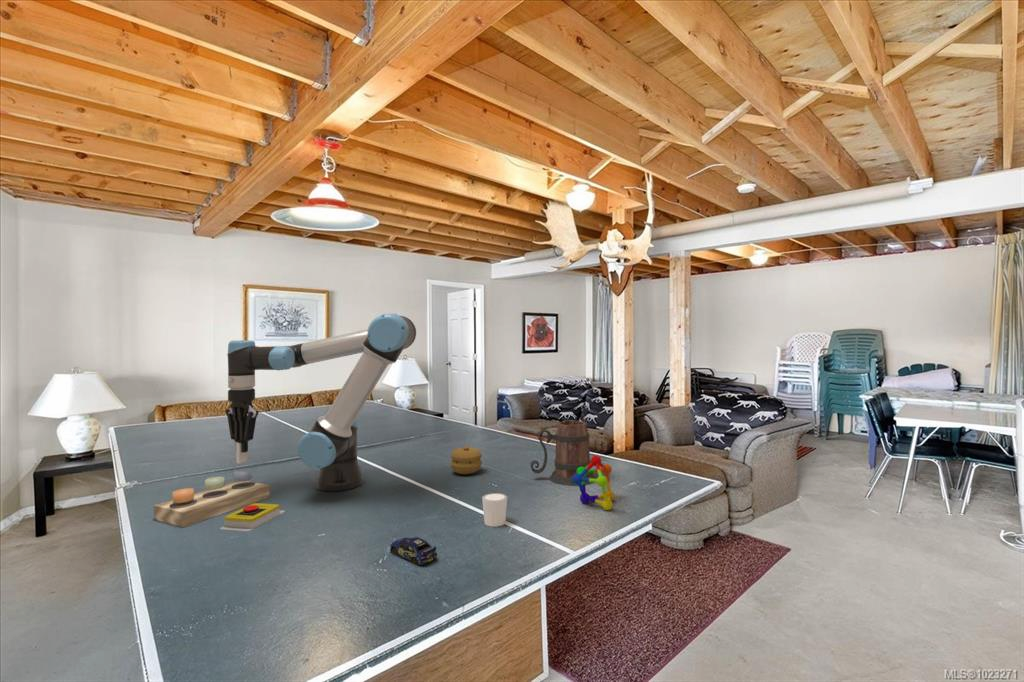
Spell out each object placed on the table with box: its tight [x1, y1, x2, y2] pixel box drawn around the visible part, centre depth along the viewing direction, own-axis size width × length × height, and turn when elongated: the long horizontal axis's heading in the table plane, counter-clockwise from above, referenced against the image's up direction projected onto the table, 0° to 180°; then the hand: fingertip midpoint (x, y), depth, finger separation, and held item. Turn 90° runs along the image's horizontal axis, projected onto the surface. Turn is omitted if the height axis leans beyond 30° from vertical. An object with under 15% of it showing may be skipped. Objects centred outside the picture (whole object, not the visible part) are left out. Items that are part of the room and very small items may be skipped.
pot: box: [450, 445, 483, 475], centre depth 176 cm, size 12×12×10 cm
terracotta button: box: [172, 487, 195, 503], centre depth 133 cm, size 5×5×3 cm
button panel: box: [153, 480, 271, 528], centre depth 142 cm, size 14×26×4 cm, turn 154°
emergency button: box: [219, 502, 285, 532], centre depth 132 cm, size 9×4×15 cm
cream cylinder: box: [481, 492, 508, 528], centre depth 127 cm, size 7×7×7 cm
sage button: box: [204, 475, 226, 490], centre depth 142 cm, size 5×5×3 cm
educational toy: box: [573, 454, 615, 511], centre depth 140 cm, size 16×13×15 cm
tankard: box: [529, 419, 598, 487], centre depth 166 cm, size 24×17×20 cm
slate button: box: [233, 468, 253, 482], centre depth 150 cm, size 5×5×3 cm
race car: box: [387, 536, 438, 566], centre depth 109 cm, size 15×7×4 cm, turn 56°
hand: (241, 462), depth 150 cm, fingers closed
